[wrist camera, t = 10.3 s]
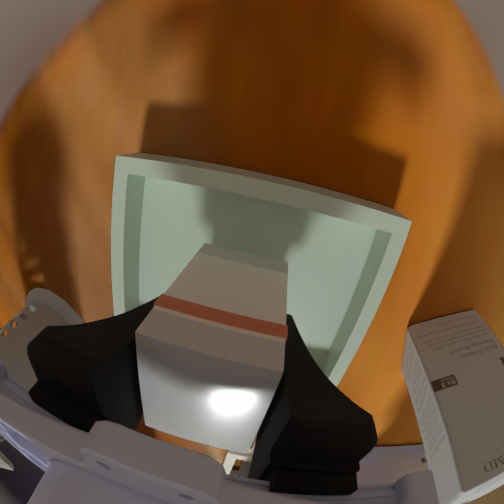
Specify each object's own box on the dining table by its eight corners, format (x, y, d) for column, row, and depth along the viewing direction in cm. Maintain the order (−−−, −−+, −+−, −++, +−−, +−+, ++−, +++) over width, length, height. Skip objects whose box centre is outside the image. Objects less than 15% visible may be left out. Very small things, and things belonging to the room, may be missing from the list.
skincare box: (475, 305, 15) (562, 431, 4) (464, 352, 16) (523, 472, 5) (401, 325, 16) (466, 492, 5) (396, 372, 18) (435, 518, 6)
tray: (393, 208, 14) (411, 221, 11) (325, 374, 18) (327, 401, 16) (140, 152, 14) (116, 155, 12) (133, 326, 19) (117, 347, 16)
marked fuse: (289, 261, 13) (286, 370, 7) (265, 344, 15) (248, 454, 9) (203, 241, 13) (133, 329, 7) (193, 326, 15) (144, 425, 9)
